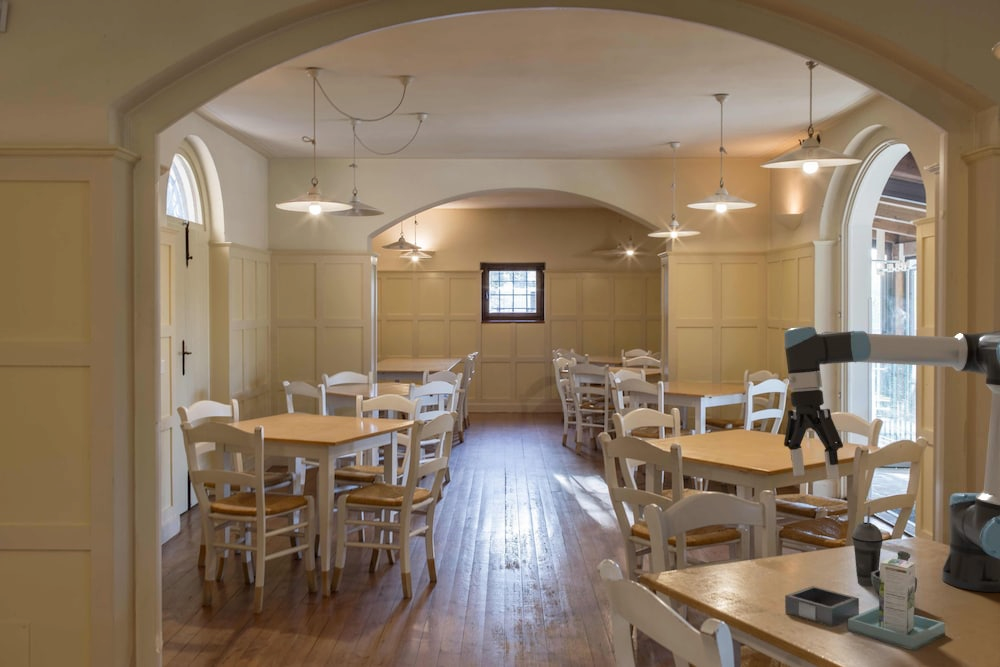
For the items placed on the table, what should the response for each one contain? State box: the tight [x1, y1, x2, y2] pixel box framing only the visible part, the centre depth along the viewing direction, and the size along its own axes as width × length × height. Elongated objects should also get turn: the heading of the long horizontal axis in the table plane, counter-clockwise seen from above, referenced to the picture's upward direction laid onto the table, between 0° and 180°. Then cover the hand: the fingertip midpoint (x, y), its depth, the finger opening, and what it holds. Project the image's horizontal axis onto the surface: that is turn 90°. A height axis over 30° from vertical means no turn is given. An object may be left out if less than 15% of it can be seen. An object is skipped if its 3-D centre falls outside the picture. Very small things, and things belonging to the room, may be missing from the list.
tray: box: [847, 605, 946, 652], centre depth 175 cm, size 14×14×2 cm
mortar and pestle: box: [871, 550, 918, 596], centre depth 193 cm, size 11×9×12 cm
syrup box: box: [878, 557, 916, 635], centre depth 175 cm, size 6×6×14 cm
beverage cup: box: [851, 506, 884, 587], centre depth 209 cm, size 7×7×20 cm
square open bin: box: [784, 585, 860, 628], centre depth 186 cm, size 12×11×4 cm
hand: (815, 477), depth 199 cm, fingers open, 13 cm apart
